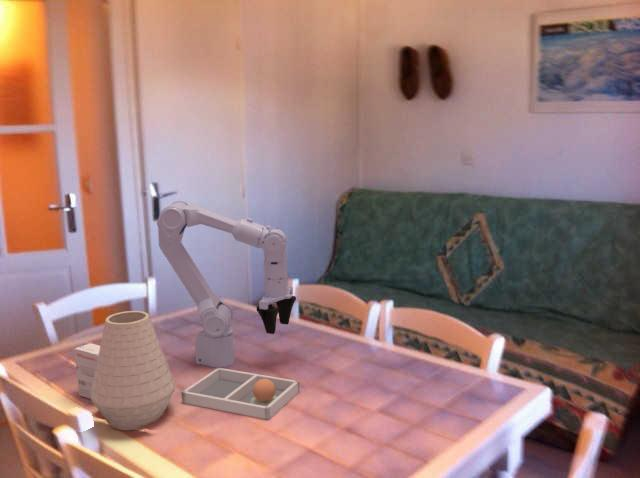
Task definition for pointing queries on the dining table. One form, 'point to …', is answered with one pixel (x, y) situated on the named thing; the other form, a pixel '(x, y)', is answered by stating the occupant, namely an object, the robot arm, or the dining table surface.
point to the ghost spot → (257, 402)
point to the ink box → (86, 367)
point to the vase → (131, 373)
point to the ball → (264, 390)
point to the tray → (238, 393)
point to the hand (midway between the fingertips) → (277, 328)
